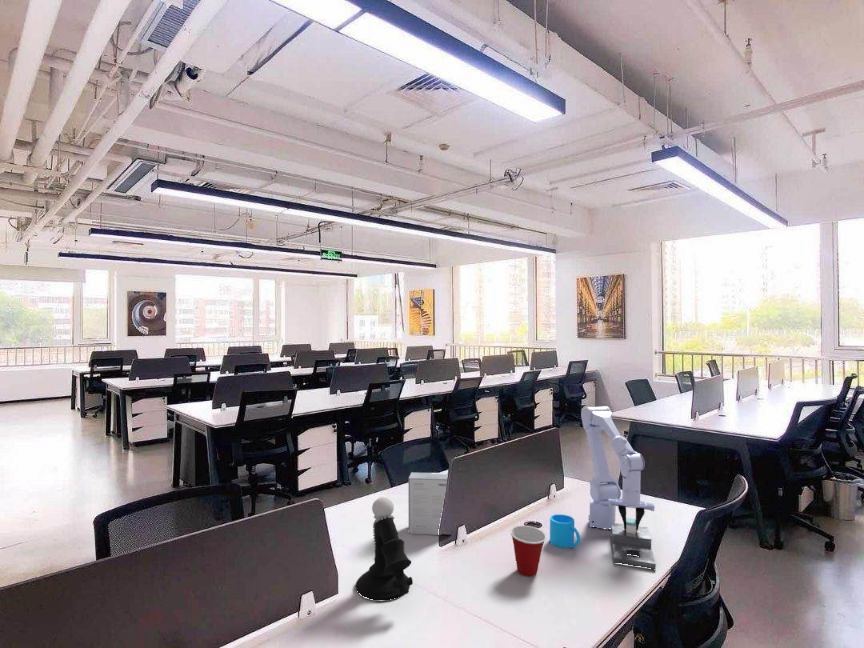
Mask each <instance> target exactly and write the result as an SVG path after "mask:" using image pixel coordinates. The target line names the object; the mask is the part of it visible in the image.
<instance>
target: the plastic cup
mask: <svg viewBox="0 0 864 648" xmlns="http://www.w3.org/2000/svg"><path fill="white" fill-rule="evenodd" d="M510 535H511V538H512V543H513V550H514V551H513V552H514V557H515V562H516V570H517V573H519V575H521V576H525V577H534V576H537V575H536V574H537V573H538V569H539V565H540V560H541V556H542V551H543V546H544V544H545V541H546V540H547V535H546V533H545V532H544V531H543V530H541V529H539V528H537V527H534V526H531V525H516V526H513V527H512V528H511V529H510ZM533 575H534V576H533Z"/></svg>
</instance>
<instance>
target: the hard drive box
mask: <svg viewBox="0 0 864 648" xmlns="http://www.w3.org/2000/svg"><path fill="white" fill-rule="evenodd" d="M447 477H448V472H445V473H444V472H413V471H411V472H410V474H409V476H408V534H410V535H411V534H413V535H433V536H439V535H438V529H439V524H440V518H441V513H442V508H443V502H444V496H445V490H446V483H447Z"/></svg>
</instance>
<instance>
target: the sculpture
mask: <svg viewBox="0 0 864 648" xmlns="http://www.w3.org/2000/svg"><path fill="white" fill-rule="evenodd" d="M394 508H395V507H394V502H393V501H392V500H391V499H390V498H388V497H379V498H377V499H376V500H374V502H373V503H372V507H371V511H372V514H373V515H374V516H373V519H375V520H374V521H373V524H372V528H373V530H372V531H373V532H372V534H373V535H372V536H373V542H374V558H373V560H374V563H373V564H371V565H370V567H369V569H368V570H367V571H365V572H364V573H362V575H360V576H359V577H358V579H357V580H356V583H355V590H357V591H358V593H360V594H361V595H362V596H364V597H367V598H369V599H373V600H389V601H391V600H390V599H394V598H397V599H399V598H401V597H403V596H405V595H407V594H408V593H409V592H410V588H411V586H412V585H413V577H412V576H410V577H408V575H406V574H405V570H406V569H407V568H409V566H411V564H412V560H411V559H410V558H408V556H407V554H406V553H405V541H404V539H402V538H401V539H400V537H399V532H398V529H397V527H396V524H395V521H394V520H395V517H394V515H393V512H394ZM357 591H356V592H357ZM358 593H357V594H358ZM398 597H399V598H398ZM394 600H395V599H394Z"/></svg>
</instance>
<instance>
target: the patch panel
mask: <svg viewBox="0 0 864 648" xmlns="http://www.w3.org/2000/svg"><path fill="white" fill-rule="evenodd" d="M610 531H611V534H612V536H611V546H613V548H612V556H613V557H612V559H613V558H614V560H613V564H614V563H622V564H628V565H633V566H641V567H647V568H651V569H655V570H656V565H657V564H656V560H655V557H654V552H653V548H652V537H651V534H650V529H649V527H646V526H641V525H639V527H638V531H636V534H631V533H626V529H624V523H617V522H616V523H612V530H610ZM627 554H631V555H637V556H639V557H633V556H627Z"/></svg>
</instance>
